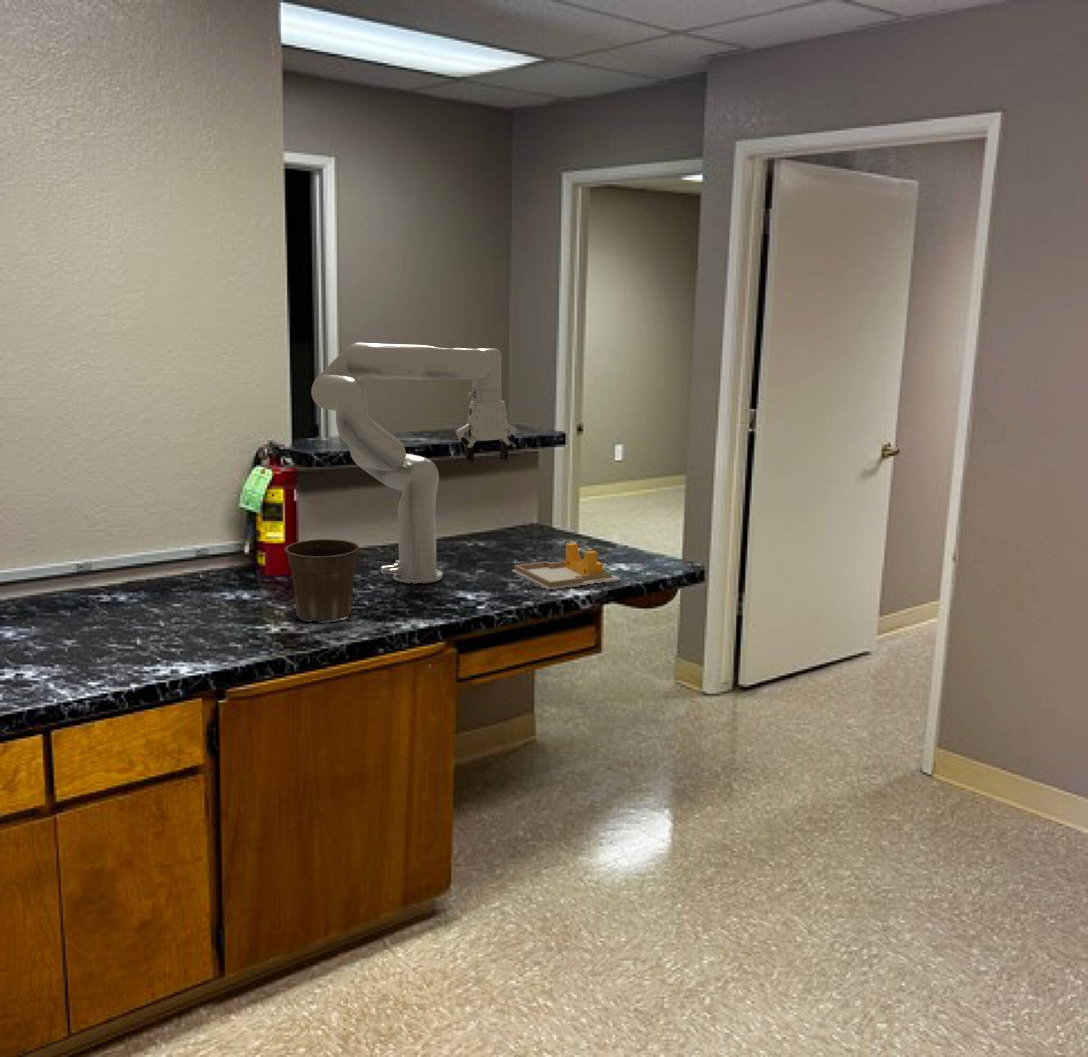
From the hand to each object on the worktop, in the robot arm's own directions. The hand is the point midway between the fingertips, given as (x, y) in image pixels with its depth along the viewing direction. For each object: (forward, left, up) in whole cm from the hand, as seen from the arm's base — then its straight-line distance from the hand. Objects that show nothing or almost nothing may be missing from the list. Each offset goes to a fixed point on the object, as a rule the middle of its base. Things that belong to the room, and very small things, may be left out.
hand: (487, 460), depth 285 cm
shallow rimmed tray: (+13, -20, -28) cm, 37 cm away
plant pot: (-53, -27, -28) cm, 66 cm away
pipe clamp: (+18, -20, -28) cm, 39 cm away
